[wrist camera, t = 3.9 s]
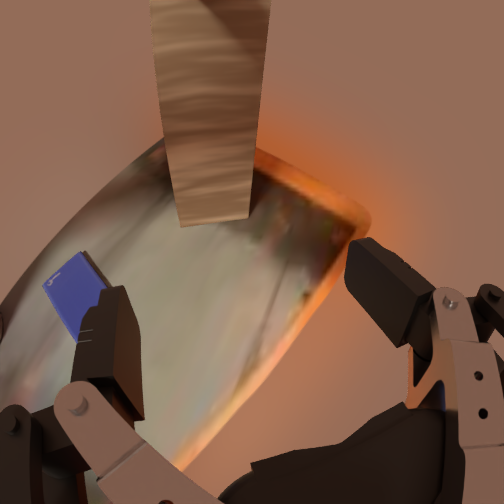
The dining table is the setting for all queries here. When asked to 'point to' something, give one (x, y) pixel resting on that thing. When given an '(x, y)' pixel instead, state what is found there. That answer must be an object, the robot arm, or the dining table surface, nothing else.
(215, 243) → the dining table surface
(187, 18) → the stand
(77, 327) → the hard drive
